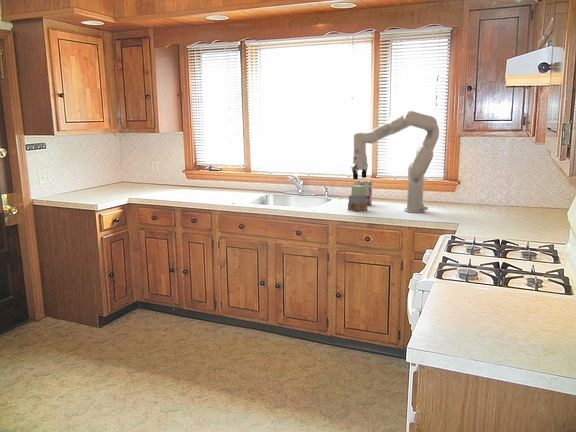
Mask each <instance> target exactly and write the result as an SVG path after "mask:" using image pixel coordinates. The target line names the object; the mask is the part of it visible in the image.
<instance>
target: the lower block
mask: <svg viewBox="0 0 576 432" xmlns="http://www.w3.org/2000/svg"><path fill="white" fill-rule="evenodd" d="M367 210H368V206H367V203H363V204H352V203H349V202H348V203H347V211H348V212H349V211H350V212H356V213H357V212H358V213H361V211H362V212H365V211H367Z"/></svg>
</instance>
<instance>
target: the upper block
mask: <svg viewBox="0 0 576 432" xmlns="http://www.w3.org/2000/svg"><path fill="white" fill-rule="evenodd" d="M348 203H352V204H363V203H366V195H363V196H353V195H352V194H349V195H348Z"/></svg>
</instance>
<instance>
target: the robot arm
mask: <svg viewBox="0 0 576 432" xmlns="http://www.w3.org/2000/svg"><path fill="white" fill-rule="evenodd" d="M411 126H412V127H414V128H418V129H422V130H424V135H423V138H422V141H421V142H420V145H419V146H418V148H417V149H416V152H415V153H416V154H415V155H416V156H415V158H414V159H413V162H411V163H410V164H409V165H408V169H407V177H408V178H407V197H406V198H407V200H406V201H407V202H406V208H404V212H406V213H410V214H411V213H413V214H415V213H416V214H418V213H419V214H420V213H425V212H426V211H428V210H429V207H428V206H425V204H423V203H424V182H425V180H424V179H425V178H424V176H425V175H426V173H427V170H428V169H429V166H430V164H431V163H432V160H433V159H434V158H433V157H434V149H435V147H436V145H437V142H438V140H439V137H440V128H439V125H438V122H437V118H436V117H433V116H432V115H427V114H424V113H421V112H417V111H413V110H410V111H407V112H405V113H403V114H401V115H398V116H397V117H395V118H392V119H391V120H389V121H387V122H386V123H384V124H382V125H380V126H378V127H376V128H374V129H372V130H370V131H367V132H365V131H355V132H353V159H352V165H351V166H350V168H351V171H352V178H353V180H358V179H359V173H358V171H361V178H362V179H366V178H367V171H368V167H369V164H368V157H367V150H366V149H367V147H366V146H367V144H371V145H372V144H376V143H377V141H381V139H383V138H385V137H388V136H391V135H395V134H396V133H399V132H401V131H403V130H405V129H406V128H409V127H411Z"/></svg>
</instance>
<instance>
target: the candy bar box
mask: <svg viewBox="0 0 576 432" xmlns="http://www.w3.org/2000/svg"><path fill="white" fill-rule="evenodd" d="M355 185H361V186H365V195H366V203H367V207H368V206H371V205H372V203H373V202H372V201H373V198H372V197H373V195H372V194H373V181H372V180H355V181H354V186H355Z"/></svg>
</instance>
